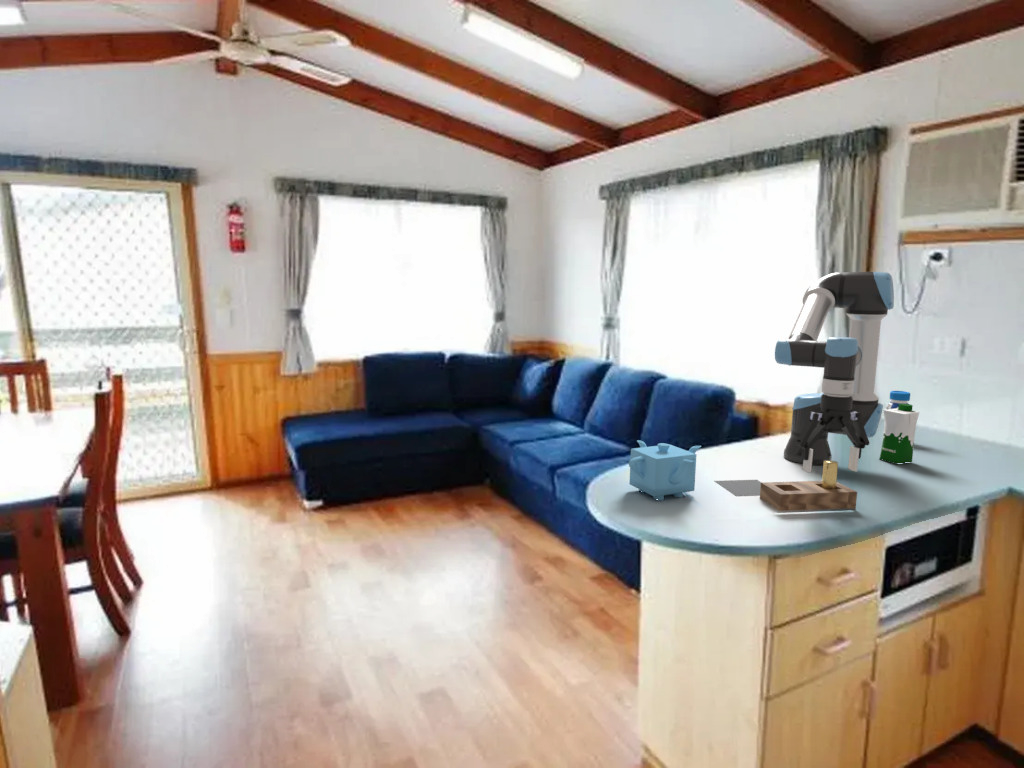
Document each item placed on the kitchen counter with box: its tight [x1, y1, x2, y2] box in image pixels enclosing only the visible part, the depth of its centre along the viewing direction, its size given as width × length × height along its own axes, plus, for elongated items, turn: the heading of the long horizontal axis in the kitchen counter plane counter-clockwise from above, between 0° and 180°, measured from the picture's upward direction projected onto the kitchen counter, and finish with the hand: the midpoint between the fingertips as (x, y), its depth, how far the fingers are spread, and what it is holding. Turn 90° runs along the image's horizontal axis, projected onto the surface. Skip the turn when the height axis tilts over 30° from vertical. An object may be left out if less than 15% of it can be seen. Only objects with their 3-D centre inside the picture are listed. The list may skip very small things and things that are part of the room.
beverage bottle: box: [885, 390, 911, 410], centre depth 239 cm, size 8×8×20 cm
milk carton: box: [879, 403, 920, 464], centre depth 210 cm, size 9×9×20 cm
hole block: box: [759, 480, 858, 512], centre depth 167 cm, size 22×10×5 cm, turn 97°
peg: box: [821, 459, 839, 490], centre depth 167 cm, size 4×4×12 cm
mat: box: [714, 479, 763, 497], centre depth 180 cm, size 14×14×1 cm
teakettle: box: [628, 439, 702, 501], centre depth 174 cm, size 19×19×15 cm
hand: (829, 470), depth 167 cm, fingers open, 13 cm apart
